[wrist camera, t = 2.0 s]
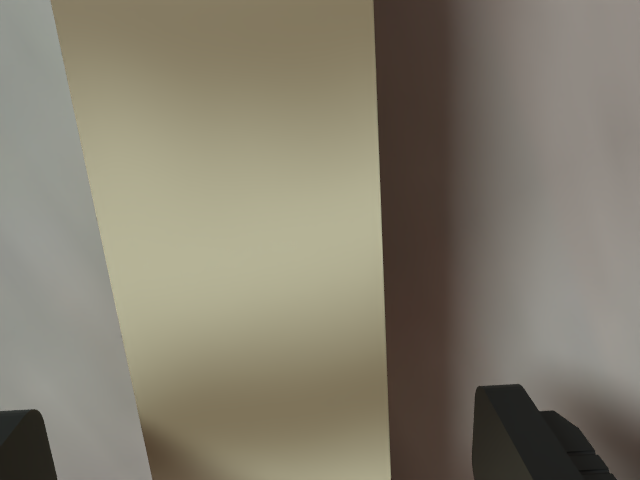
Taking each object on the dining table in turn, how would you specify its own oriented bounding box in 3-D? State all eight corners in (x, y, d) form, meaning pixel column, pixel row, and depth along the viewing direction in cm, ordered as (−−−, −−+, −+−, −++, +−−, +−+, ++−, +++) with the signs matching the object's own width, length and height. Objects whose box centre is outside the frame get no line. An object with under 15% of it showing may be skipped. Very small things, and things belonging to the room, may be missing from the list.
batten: (110, -159, 12) (-12, -291, 7) (338, -176, 12) (361, -318, 7) (234, 584, 19) (211, 757, 15) (377, 573, 19) (400, 742, 15)
